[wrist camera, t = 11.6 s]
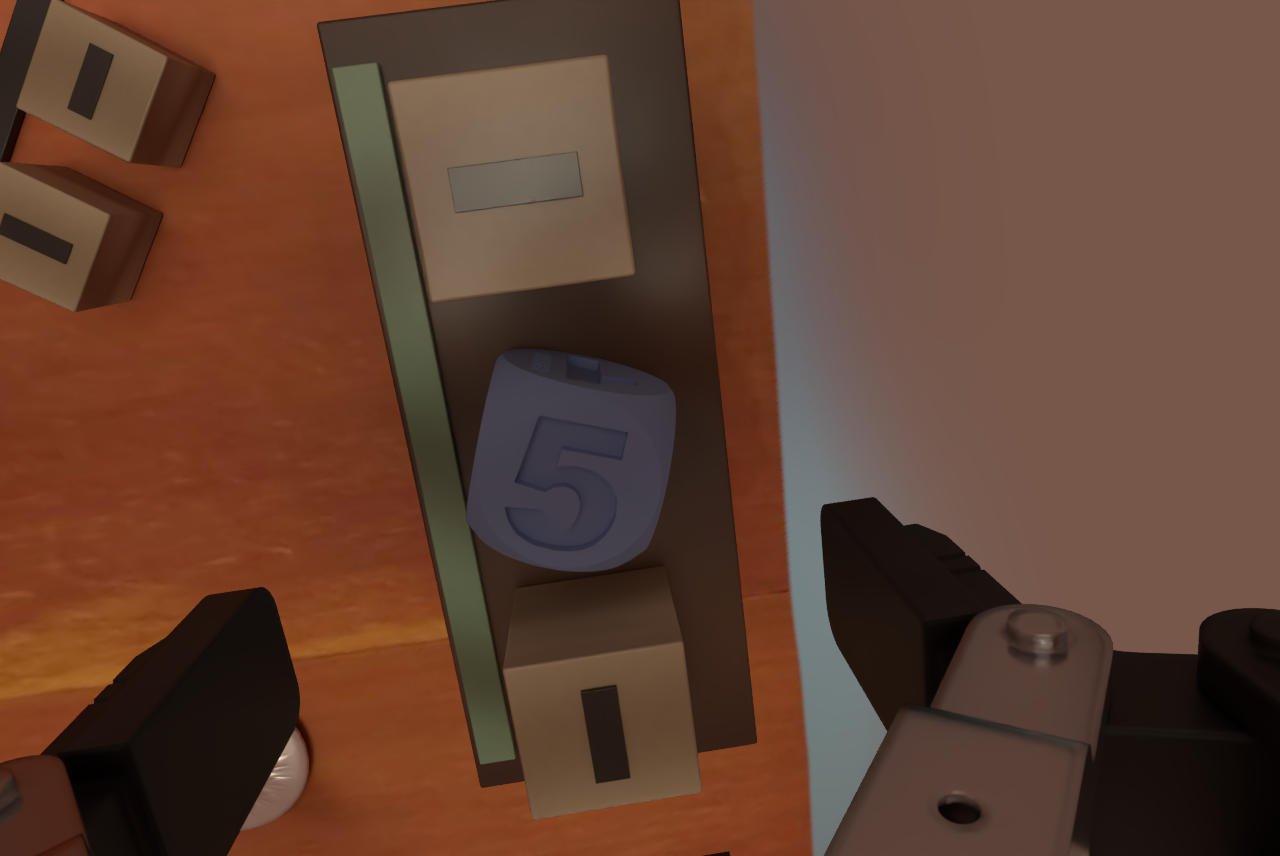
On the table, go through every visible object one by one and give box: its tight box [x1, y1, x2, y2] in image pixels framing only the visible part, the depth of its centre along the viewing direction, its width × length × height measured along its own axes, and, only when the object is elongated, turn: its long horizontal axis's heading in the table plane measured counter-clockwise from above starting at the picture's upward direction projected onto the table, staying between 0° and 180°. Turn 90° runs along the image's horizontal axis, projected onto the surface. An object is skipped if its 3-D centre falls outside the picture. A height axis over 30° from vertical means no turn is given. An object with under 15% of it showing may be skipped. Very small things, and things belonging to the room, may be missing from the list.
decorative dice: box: [466, 349, 676, 572], centre depth 19 cm, size 4×4×4 cm
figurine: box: [240, 727, 309, 831], centre depth 36 cm, size 8×12×10 cm, turn 56°
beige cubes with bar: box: [0, 0, 215, 312], centre depth 31 cm, size 18×7×4 cm, turn 152°
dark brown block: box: [317, 0, 757, 820], centre depth 26 cm, size 20×8×20 cm, turn 7°
